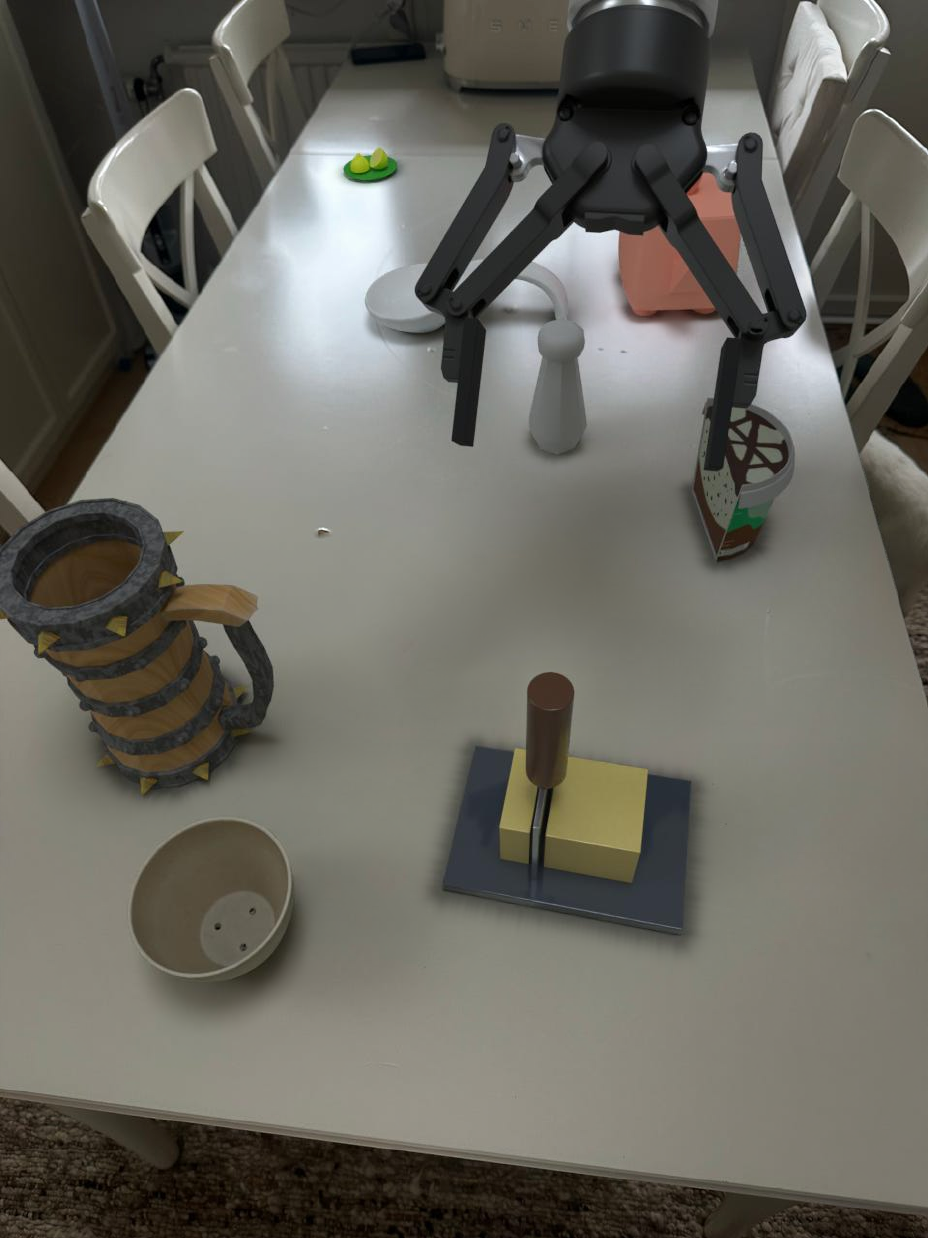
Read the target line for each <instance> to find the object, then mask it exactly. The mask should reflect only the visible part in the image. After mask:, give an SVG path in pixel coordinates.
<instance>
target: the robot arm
mask: <svg viewBox="0 0 928 1238" xmlns="http://www.w3.org/2000/svg"><path fill="white" fill-rule="evenodd" d="M718 8H719V0H568V8H567V15H566V16H567V17H566V28H567V30H568V34H567V35H566V37H565V40H564V43H563V50H562V59H561V65H560V67H561V68H560V76H559V82H558V83H559V84H558V91H557V101H556V109H555V117H554V122H553V124H552V127H551V129H550V130H549V132H548V134H547V135H546V137H545V138H543V137H539V136H538V137H537V136H531V135H524V134H518V133H516V132H515V129H514V127H513V126H512V125H511V124H510V123H507V122H502V123H499V124H497V125H496V126H495V127H494V129H493V130H492V132H491V133H492V134H491V137H490V142H489V147H488V151H487V156H486V161H485V165H484V167H483V169H482V171H481V172H480V174H479V176H478V178H477V180H476V181H475V183H474V185H473V186H472V188H471V190H470V191H469V193H468V194H467V197H466V198H465V200H464V202H463V203H462V204H461V207H460V209H459V210H458V212H457V213H456V215H455V216H454V218H453V220H452V222H451V224H450V226H449V227H448V229H447V231H446V232H445V234H444V235H443V237H442V239H441V241H440V242H439V243H438V246H437V247H436V249H435V252H434V253H433V254H432V255H431V258H430V260H429V261H428V262H427V263H428V264H427V266H426V268H425V270H424V271H423V273H422V275H421V276H420V278H419V280H418V281H417V283H416V285H415V295H416V297H417V298H418V299H419V300H420V301H421V302H422V304H423V305H424V306H425V307H426V308H427V309H428V310H429V311H431V312H436V313H438V314H440V315H442V316H444V317H445V324H444V333H443V343H442V352H441V353H442V354H441V361H440V371H441V375H442V378H443V379H444V380H445V381H446V382H447V383H452V384H456V385H457V386H456V394H455V402H454V403H455V404H454V412H453V413H454V414H453V422H452V431H451V442H452V443H454V444H456V445H458V446H460V447H470V448H474V444H475V436H476V426H477V417H478V408H479V400H480V392H481V391H480V390H481V381H482V373H483V363H484V357H485V356H484V355H485V347H486V339H487V338H486V337H487V328H486V327H485V326H484V324H483V323H482V322H481V320H480V318H479V316H480V315H481V314H482V313H484V312H485V310H487V308H489V306H490V305H491V304H493V302H494V301H495V300H496V299H497V298H498V297H499V296H500V295H501V294H502V293H503V292H504V290H506V289H507V288H508V287H509V286H510V285H511V284H512V283H513V282H514V281H515V280H516V279H515V278H516V277H517V276H518V275H519V274H520V273H521V272H522V271H523V270H524V269H525V268H526V267H527V266H528V265H529V264H530V263H531V262H534V261H535V259H536V258H537V257H538V256H539V255H540V254H541V253H542V252H543V251H544V250H545V249H546V248H547V247H548V246H549V245H550V244H551V243H553V241H555V240H558V239H559V238H560V237H561V236H562V235H563V234H564V233H565V232H566V231H567V230H568V229H569V228H570V227H572V225H573V224H576V225H577V226H578V227H580V228H582V229H584V232H585V233H591V234H592V233H594V234H602V233H606V232H611V231H616V232H619V231H620V232H623V233H626V234H629V235H643V234H644V232H646V231H649V230H652V229H654V228H655V227H657V226H659V228H660V229H661V231H662V232H663V234H664V235H665V237H666V238H667V240H668V241H669V243H670V244H671V245H672V246H673V247H675V248H676V250H677V251H678V253H679V254H680V256H681V257H682V259H683V260H684V262H685V263H686V265H687V266H688V268H689V269H690V271H691V272H692V274H693V275H694V277H695V278H696V280H697V281H698V283H699V284H700V286H701V288H702V289H703V291H704V292H705V294H706V295H707V297H708V298H709V300H710V301H711V303H712V304H713V306H714V307H715V311H716V312H717V313H718V315H719V317H720V318H721V319H722V321H723V322H724V324H725V325H726V327H727V328H728V330H729V331H730V333H731V334H732V336H733V337H729V336H727V337H726V338H725V341H724V342H723V343H722V344H723V345H721V348H720V353H719V361H718V367H717V374H716V381H715V387H714V394H713V398H714V401H713V408H712V415H711V422H710V429H709V435H708V442H707V449H706V456H705V463H704V470H707V471H717V472H718V471H719V470H721V469H722V468H723V466H724V459H725V453H726V446H727V439H728V432H729V425H730V419H731V412H732V407H733V408H745V409H747V408H748V407H749V406H750V405H751V404H753V401H754V400H755V398H756V396H757V392H758V385H759V379H760V371H761V366H762V358H763V353H764V347H765V345H766V344H768V343H770V342H773V341H777V340H780V339H788V338H791V337H792V336H794V335H795V334H796V333H797V332H798V330H799V329H800V328H801V327H802V326H803V324H804V323H805V322H806V320H807V316H808V314H807V309H806V306H805V303H804V301H803V297H802V294H801V291H800V288H799V286H798V285H799V284H798V283H797V279H796V276H795V274H794V270H793V267H792V264H791V261H790V259H789V256H788V253H787V250H786V246H785V244H784V241H783V238H782V235H781V232H780V230H779V229H780V228H779V226H778V223H777V220H776V218H775V214H774V211H773V209H772V205H771V202H770V200H769V196H768V194H767V190H766V187H765V185H764V182H763V157H764V156H763V155H764V154H763V153H764V142H763V138H762V137H761V136H760V134H758V133H756V132H753V131H751V132H747V133H744V134H743V135H742V136H741V137H740V139H739V140H738V142H733V143H721V144H706V141H705V139H704V136H703V132H702V125H703V124H702V123H703V116H704V110H705V109H704V108H705V101H706V94H707V89H708V88H707V87H708V80H709V73H710V65H711V60H712V59H711V58H712V49H713V48H712V43H711V40H710V38H711V37H712V36H713V34H714V31H715V26H716V21H717V15H718ZM536 166H537V167H538V166H543V169H544V172H545V174H546V175H547V178H548V180H549V181H550V183H551V185H550V186H549V187H548V188H547V189H546V190H545V191H544V192H543V193H542V194H541V196H539V198H538V199H537V200H536V202H535V204H534V205H533V208H532V209H531V210H530V211H529V213H528V214H526V215H525V216H524V217H523V219H522V220H520V222H519V223H518V224H516V226H515V227H514V228H513V229H512V230H511V231H510V232H509V233H508V234H507V235H506V236H505V237H504V239H502V241H500V243H498V245H497V246H496V247H494V249H493V250H492V251H491V252H490V253H489V254H488V255H487V256H486V257H485V258H483V259H484V261H483V262H482V263H481V264H480V265H479V266H478V267H477V268H476V269H475V270H474V271H473V272H472V273H471V274H470V275H469V276H468V277H467V278H466V279H465V280H464V281H463V282H462V283H461V284H460V285H459V287H458V288H457V289H456V290H455V291H454V292H453V290H454V288H455V287H456V285H457V283H458V282H459V280H460V278H461V277H462V275H463V273H464V272H465V270H466V268H467V267H468V265H469V263H470V262H471V261H473V258H474V257H475V255H476V253H477V252H478V250H479V248H480V247H481V245H482V243H483V242H484V240H485V239H486V236H487V235H488V233H489V231H490V230H491V229H492V226H493V225H494V223H495V222H496V220H497V218H498V216H499V215H500V213H501V212H502V210H503V208H504V206H505V205H506V203H507V201H508V199H509V197H510V195H511V193H512V190H513V187H514V185H515V183H520V182H523V181H524V180H525V179H526V178H527V177H528V175H529V173H530V171H531V170H532V169H533V168H534V167H536ZM703 173H710V174H712V175H713V176H714V177H715V179H716V181H717V185H718V187H719V189H720V190H721V191H723V192H727V193H731V200H732V207H733V211H734V215H735V218H736V221H737V224H738V227H739V230H740V233H741V238H742V242H743V244H744V247H745V250H746V253H747V256H748V258H749V261H750V265H751V268H752V271H753V274H754V276H755V279H756V282H757V285H758V288H759V292H760V294H761V297H762V300H763V303H764V307H765V309H766V312H765V313H762V311H761V309H760V308H759V306H758V304H757V303H756V302H755V300H754V299H753V297H752V296H751V294H750V293H749V291H748V289H747V288H746V287H745V285H744V284H743V283H742V280H741V279H740V278H739V276H738V274H737V275H736V273H735V272H734V270H733V269H732V267H731V266H730V264H729V263H728V261H727V260H726V258H725V257H724V255H723V254H722V252H721V251H720V249H719V247H718V246H717V244H716V243H715V241H714V240H713V238H712V237H711V235H710V234H709V232H708V231H707V229H706V228H705V226H704V225H703V223H702V222H701V220H700V219H699V217H698V214H697V211H696V208H695V207H694V205H693V203H692V202H691V200H690V199H689V197H688V196H687V193H688V191H689V190H690V189H691V188H692V187H693V186H694V185H695V183H696V182H697V181H698V180H699V179H700V177H701V176H702V174H703Z"/></svg>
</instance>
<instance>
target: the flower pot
mask: <svg viewBox="0 0 928 1238" xmlns="http://www.w3.org/2000/svg"><path fill="white" fill-rule="evenodd" d="M294 889H295V888H294V876H293V871H292V865H291V862H290V859H289V856H288V854H287V851H286V850H285V848H284V846H283V844H282V843H281V841H280V840H279V839H278V837H277V836H276V835H275V834H274V833H273V832H271V831H270V830H269V829H268V828H267V827H265V826H264V825H262V824H260V823H259V822H256V821H254V820H251V819H248V818H245V817H242V816H241V817H240V816H233V815H232V816H231V815H220V816H211V817H207V818H203V819H199V820H196V821H194V822H191V823H189V824H187V825H184V826H182V827H181V828H179V829H177V830H176V831H174V832H172V833H171V834H170V835H168V836H167V837H166V838H164V839H163V840H162V841H161V842H160V843H158V845H157V846H156V847H155V848H154V849H153V850H152V851H151V852H150V853H149V855H147V857H146V858H145V860H144V861H143V863H142V864H141V866H140V868H139V869H138V870H137V873H136V875H135V877H134V878H133V881H132V885H131V887H130V890H129V895H128V900H127V907H126V920H127V928H128V932H129V935H130V938H131V941H132V943H133V945H134V946H135V947H134V948H136V950H137V952H138V953H139V954H140V955H141V957H142V958H143V959H144V960H145V961H146V962H148V963H149V964H150V965H151V966H152V967H154V968H156V969H157V970H159V971H161V972H163V973H165V974H167V975H169V976H172V977H175V978H178V979H181V980H186V981H190V982H197V983H214V982H215V983H216V982H223V981H228V980H231V979H235V978H238V977H240V976H243V975H245V974H247V973H249V972H251V971H253V970H254V969H256V968H257V967H259V966H260V965H262V963H264V962H265V961H266V960H267V959H268V958H269V957H270V956H271V955H272V954H273V953H274V951H276V949H277V947H278V946H279V944H280V943H281V941H282V939H283V938H284V936H285V933H286V931H287V929H288V926H289V923H290V920H291V916H292V913H293V905H294V891H295V890H294ZM218 928H219V929H218ZM245 947H246V948H245Z"/></svg>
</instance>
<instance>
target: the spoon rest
mask: <svg viewBox="0 0 928 1238" xmlns="http://www.w3.org/2000/svg"><path fill="white" fill-rule="evenodd" d="M484 259H485V258H482V259H474V260H471V262H470V263H469V265H468V267H467V268H466V270H465V272H464V273H463V275H462V277H461V278H460V280H459V282H458V283H457V285H456V287H455V288H454V290H453V292H454V291H455V290H456V289H457V288H458V287H459V285H460V284H461V283H462V282H463V281H464V280H465V279H466V278H467V277H468V276H469V275H470V274H471V273H472V272H473V271H474V270H475V269H476V268H477V267H478V266H479V265H480V264H481V263H482V262H483V261H484ZM428 263H429V262H424V263H414V264H410V265H405V266H402V267H398V268H395V269H392V270H390V271H388V272H386V273H384V274H382V275H381V276H379V277H378V278H376V279H375V280H374V282H372V283H371V284H370V286H369V287H368V288H367V291H366V294H365V297H364V305H365V308H366V310H367V312H368V313H369V314H370V315H371V316H372V317H373V318H374V319H375V321H377V322H379V323H380V324H381V325H383V326H385V327H387V328H390V329H392V330H394V331H400V332H408V333H413V334H424V333H430V332H433V331H436V330H438V329H440V328H441V327H443V326H445V317H444V316H442V315H440V314H438V313H436V312H431V311H429V310H428V309H427V308H426V307H425V306H424V305H423V304H422V302H421V301H420V300H419V299H418V298H417V297H416V295H415V285H416V283H417V281H418V280H419V278H420V276H421V275H422V273H423V271H424V270H425V268H426V266H427V264H428ZM514 280H518V281H522V282H527V283H529V284H531V285H534V286H536V287H538V288H540V289H541V290H542V291H543V292H544V293H545V295H547V297H548V298H549V299H550V301H551V303H552V306H553V307H552V308H553V309H554V317H555V320H559V319H563V320H568V317H569V301H568V295H567V291H566V288H565V285H564V284H563V282H562V281H561V280H560V278H559V276H557V275H556V274H555V273H554V272H553V271H552V270H550V269H549V268H547V267H545V266H544V265H541V264H539V263H537V262H535V261H532V262H531V263H530V264H529V265H528V266H527V267H526V268H525V269H524V270H523V271H522V272H521V273H520V274H519V275H518V276H517V277H516V278H515V279H514Z"/></svg>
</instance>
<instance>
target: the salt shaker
mask: <svg viewBox="0 0 928 1238" xmlns="http://www.w3.org/2000/svg"><path fill="white" fill-rule="evenodd" d="M585 344H586V339H585V331H584V328H582V327H581V326H580V324H578V323H577V322H575V321H572V320H570V319H567V320H563V319H559V320H556V319H554V320H550V321H548V322H547V323H545V324H544V325H542V326H541V328H540V330H538V333H537V349H538V352H539V354H540V355H541V356H542V357H541V361H540V366H539V371H538V375H537V378H536V379H537V380H536V383H535V388H534V393H533V396H532V397H533V398H532V402H531V406H530V409H529V410H530V411H529V415H528V428H529V432H530V434H531V435H532V437H533V439H534V440H535V442H536V443H537V445H538V447H539V449H540V450H541V451H542V452H543V451H544V452H547V453H550V454H554V455H561V454H563V453H566V452H569V451H571V450H574V449H575V447H576V446H577V444H578V443H579V441H580V440H581V438H582V436H583V435H584V433H585V431H586V430H587V425H588V422H587V413H586V406H585V399H584V392H583V385H582V378H581V377H582V376H581V371H580V365H579V357H580V356H581V355H582V353H583V351H584V349H585Z"/></svg>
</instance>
